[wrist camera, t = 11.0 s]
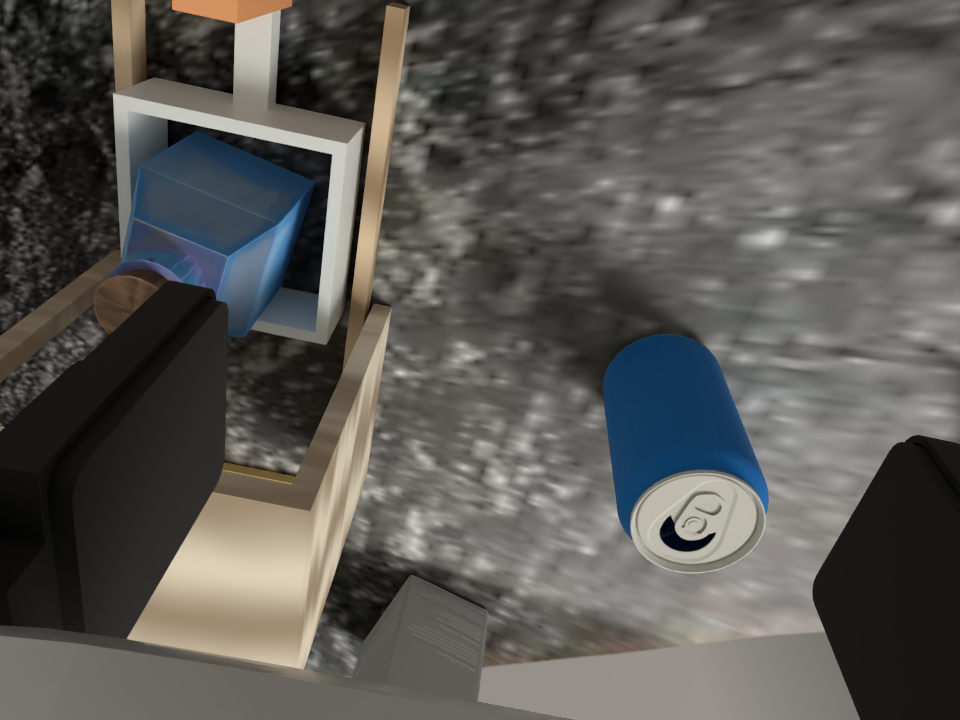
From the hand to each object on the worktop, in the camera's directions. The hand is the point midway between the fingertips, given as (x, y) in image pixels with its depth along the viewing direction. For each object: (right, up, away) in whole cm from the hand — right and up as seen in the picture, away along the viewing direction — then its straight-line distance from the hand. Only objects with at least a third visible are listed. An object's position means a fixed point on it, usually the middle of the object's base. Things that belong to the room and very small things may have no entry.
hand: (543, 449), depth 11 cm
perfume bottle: (-13, +9, +29) cm, 33 cm away
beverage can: (+9, 0, +32) cm, 33 cm away
